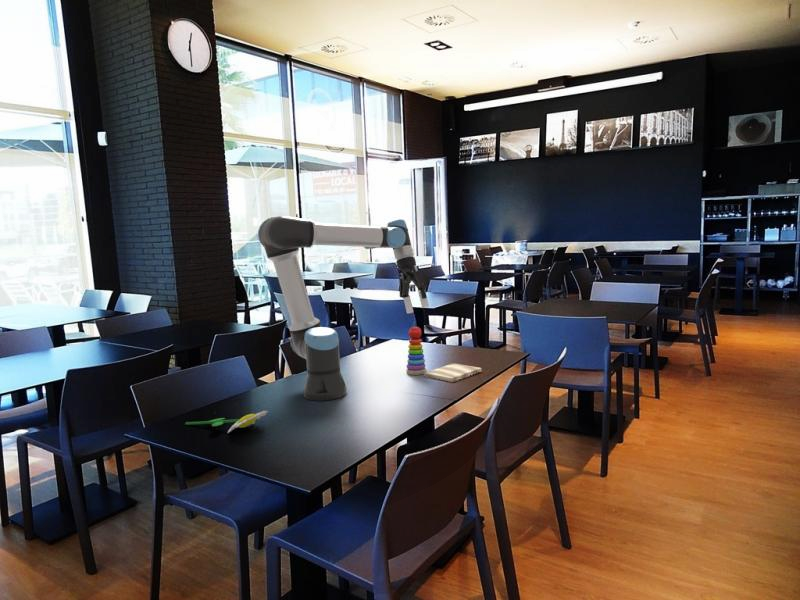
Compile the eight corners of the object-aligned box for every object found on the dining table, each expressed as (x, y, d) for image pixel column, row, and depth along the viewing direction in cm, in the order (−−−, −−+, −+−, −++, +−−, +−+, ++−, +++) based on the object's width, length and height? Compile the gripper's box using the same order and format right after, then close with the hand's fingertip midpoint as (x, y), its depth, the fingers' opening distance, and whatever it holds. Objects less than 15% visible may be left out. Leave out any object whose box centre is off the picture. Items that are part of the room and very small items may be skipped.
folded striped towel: (452, 382, 205) (451, 378, 204) (424, 376, 214) (424, 372, 214) (481, 371, 217) (481, 368, 217) (453, 366, 227) (453, 363, 227)
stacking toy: (426, 375, 216) (424, 328, 214) (406, 376, 216) (404, 329, 214) (426, 370, 224) (424, 324, 222) (406, 371, 224) (404, 325, 222)
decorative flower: (172, 439, 167) (251, 435, 155) (169, 423, 167) (249, 418, 155) (202, 427, 179) (278, 422, 167) (199, 412, 179) (275, 407, 167)
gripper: (427, 248, 210) (441, 302, 208) (400, 264, 232) (412, 313, 230) (410, 251, 207) (423, 306, 205) (384, 267, 229) (396, 316, 227)
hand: (417, 310), depth 217 cm, fingers open, 13 cm apart
